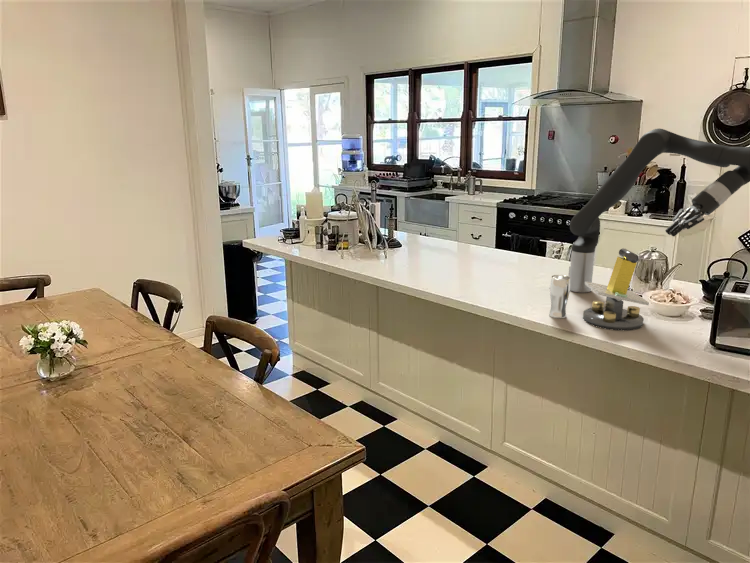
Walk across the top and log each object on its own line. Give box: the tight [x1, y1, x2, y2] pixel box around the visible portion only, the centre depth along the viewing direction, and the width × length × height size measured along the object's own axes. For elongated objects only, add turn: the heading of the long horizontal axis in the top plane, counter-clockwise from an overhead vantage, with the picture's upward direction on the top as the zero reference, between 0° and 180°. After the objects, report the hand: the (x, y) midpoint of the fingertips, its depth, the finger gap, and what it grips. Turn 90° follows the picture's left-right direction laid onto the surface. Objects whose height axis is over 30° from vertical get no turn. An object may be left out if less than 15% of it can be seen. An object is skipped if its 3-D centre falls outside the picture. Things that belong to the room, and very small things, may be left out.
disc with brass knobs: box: [582, 297, 645, 331], centre depth 197 cm, size 20×20×10 cm
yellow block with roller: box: [585, 247, 650, 306], centre depth 194 cm, size 14×18×16 cm
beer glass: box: [548, 274, 571, 320], centre depth 202 cm, size 7×7×15 cm
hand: (669, 233), depth 189 cm, fingers open, 2 cm apart
